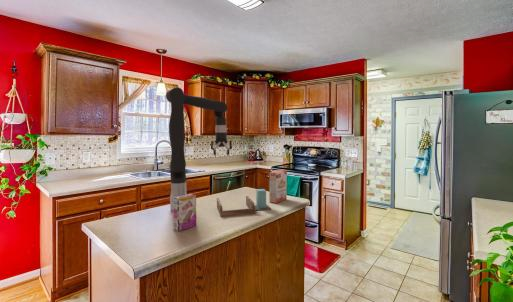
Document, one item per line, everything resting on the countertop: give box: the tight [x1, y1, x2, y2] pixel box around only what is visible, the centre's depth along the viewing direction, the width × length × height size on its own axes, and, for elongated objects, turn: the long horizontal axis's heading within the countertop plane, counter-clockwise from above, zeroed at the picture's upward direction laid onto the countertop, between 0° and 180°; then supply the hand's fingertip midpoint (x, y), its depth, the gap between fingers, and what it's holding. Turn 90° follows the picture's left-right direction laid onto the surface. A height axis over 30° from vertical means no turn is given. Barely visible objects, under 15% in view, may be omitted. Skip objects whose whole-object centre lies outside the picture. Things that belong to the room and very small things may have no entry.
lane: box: [216, 195, 256, 218], centre depth 164 cm, size 19×20×6 cm
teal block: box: [255, 188, 267, 208], centre depth 169 cm, size 5×5×11 cm
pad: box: [254, 203, 272, 212], centre depth 169 cm, size 10×10×1 cm
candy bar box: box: [172, 193, 197, 232], centre depth 135 cm, size 11×5×16 cm, turn 141°
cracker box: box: [268, 169, 288, 204], centre depth 185 cm, size 14×6×21 cm, turn 143°
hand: (221, 155), depth 183 cm, fingers open, 8 cm apart
